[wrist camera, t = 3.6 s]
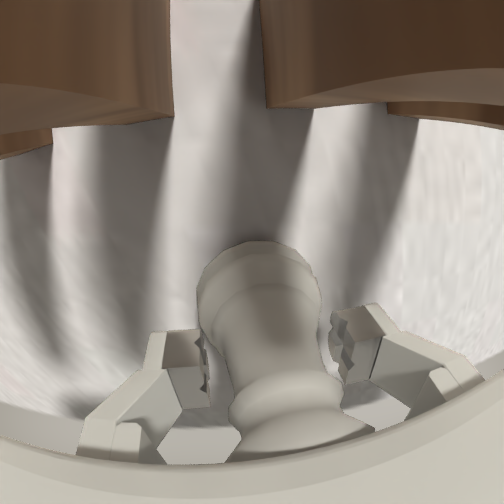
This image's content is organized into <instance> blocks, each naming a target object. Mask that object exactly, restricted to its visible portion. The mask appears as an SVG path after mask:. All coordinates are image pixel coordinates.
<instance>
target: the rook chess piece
mask: <svg viewBox="0 0 504 504" xmlns="http://www.w3.org/2000/svg"><path fill="white" fill-rule="evenodd" d="M196 289H197V304H198V314H199V323H200V325H201V328H202V330H203V331H204V333H205V334H206V336H207V338H208V339H209V341H210V342H211V344H212V345H213V346H214V347H216V349H217V350H218V352H219V353H220V355H221V356H223V357H224V358H225V361H226V364H227V368H228V371H229V375H230V378H231V382H232V385H233V389H234V397H235V399H234V401H233V402H232V403H231V405H230V406H229V408H228V417H229V421H230V423H231V424H232V425H233V426H234V427H235V428H236V429H237V430H238V431H239V432H240V434H241V437H242V440H241V441H240V443H239V444H238V446H237V447H236V448H235V449H234V451H233V452H232V453H231V455H230V456H229V457H228V459H227V460H226V462H225V463H231V462H241V461H250V460H258V459H265V458H272V457H278V456H284V455H289V454H295V453H299V452H304V451H309V450H313V449H318V448H322V447H326V446H330V445H334V444H337V443H341V442H345V441H348V440H351V439H355V438H358V437H361V436H364V435H367V434H370V433H373V432H375V428H374V427H372V426H370V425H368V424H366V423H364V422H362V421H360V420H357V419H355V418H353V417H350V416H348V415H346V414H344V412H343V411H342V409H341V407H340V403H341V401H342V398H343V396H344V391H343V387H342V383H341V382H340V381H339V380H337V379H336V378H335V377H333V376H332V375H330V374H329V373H327V371H326V368H325V366H324V364H323V361H322V358H321V353H320V349H319V345H318V341H317V337H316V334H317V329H318V324H319V319H320V318H319V317H320V312H321V307H322V298H321V294H320V290H319V287H318V283H317V280H316V277H315V276H314V275H313V273H312V270H311V267H310V265H309V263H308V262H307V261H306V260H305V259H304V258H303V257H302V256H301V255H300V254H299V253H298V252H297V251H296V250H295V249H292V248H290V247H287V246H285V245H282V244H280V243H277V242H275V241H247V242H244V243H242V244H239V245H237V246H234V247H231V248H229V249H226V250H224V251H222V252H221V253H220V254H219V255H218V256H217V257H216V258H215V259H214V260H213V261H212V262H211V263H210V264H208V265H207V266H206V267H205V269H204V271H203V274H202V276H201V278H200V281H199V283H198V286H197V288H196Z"/></svg>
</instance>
